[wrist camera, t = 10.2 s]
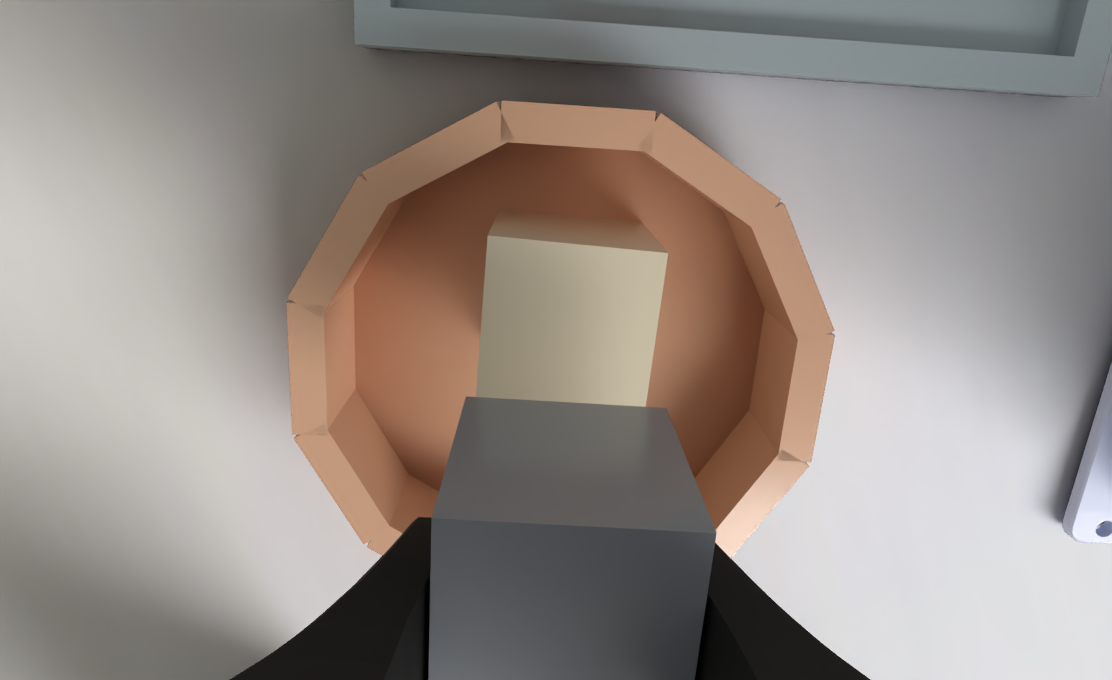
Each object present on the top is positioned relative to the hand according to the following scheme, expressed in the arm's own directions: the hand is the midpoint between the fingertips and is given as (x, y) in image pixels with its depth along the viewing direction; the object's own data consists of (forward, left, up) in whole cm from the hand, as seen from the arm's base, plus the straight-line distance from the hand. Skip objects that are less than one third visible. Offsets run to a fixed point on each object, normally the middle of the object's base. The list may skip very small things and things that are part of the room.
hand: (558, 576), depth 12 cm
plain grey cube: (0, -1, -1) cm, 2 cm away
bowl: (0, -2, -8) cm, 9 cm away
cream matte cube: (0, -3, -8) cm, 8 cm away
